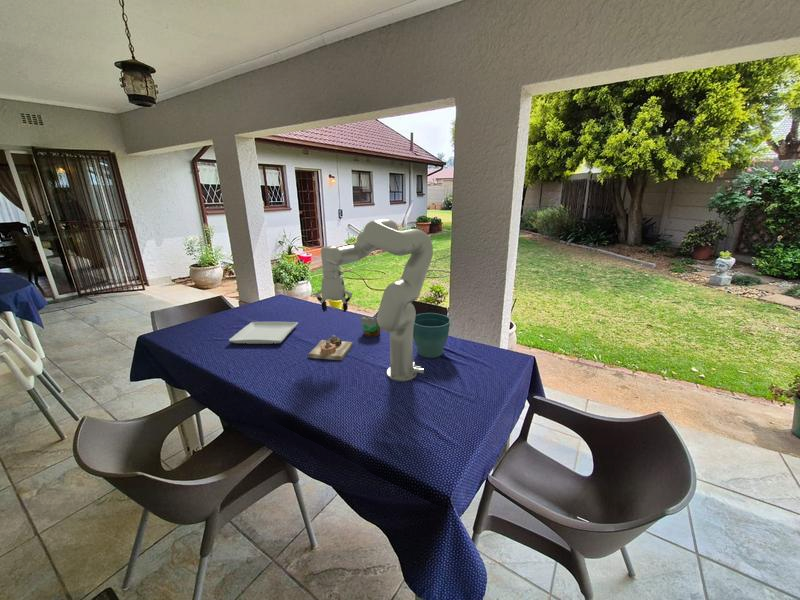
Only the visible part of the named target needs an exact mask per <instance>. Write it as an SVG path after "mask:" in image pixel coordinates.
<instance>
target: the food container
mask: <svg viewBox="0 0 800 600" xmlns="http://www.w3.org/2000/svg"><path fill="white" fill-rule="evenodd" d="M360 322H361V323H362V324H361V325H362V331H363V335H364V336H365V337H367V338H376V337H379V336H381V329H380V327H379V325H378V322H377V317H376V318H375V317H371V316H364V314H362V315H361V317H360Z"/></svg>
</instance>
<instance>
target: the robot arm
mask: <svg viewBox="0 0 800 600" xmlns="http://www.w3.org/2000/svg"><path fill="white" fill-rule="evenodd" d="M377 249H380V250H381V251H384V252H387V253H389V254H391V255H394V256H397V257H398V256H399V257H403V256H407V255H410V256H409V258H408V260H407V261H406V263H405V265H404V268H403V272H402V274H401V277H400V278H399V279H398V280H396V281H393V282H391V283H390V284H388V285H387V286H386V287H385V289H384V291H383V295H382V296H381V301H380V304H379V308H378V310H377V315H376V316H377V317H376V319H377V322H378V325H379V327H380V331H383V332H385V333H389V364H390V365H389V366H390V367H388V368H387V370H386V376H387V377H388V378H389V379H390V380H393V381H395V382H407V381H411V380H413V379H414V378H416V376H417V375H418V374H424V368H422V366H421V365H416V364H415V363H416V362H415V361H414V337H413V332H414V323H415V318H416V315H417V314H416V313H417V312H416V308H415V305H414V304H413V302H415V301H416V300H417V299H418V298H419V297H420V294H421V291H422V288H423V285H424V283H425V280H426V276H427V273H428V270H429V268H430V266H431V262H432V259H433V255H434V247H433V242H432V239H431V238H430V236H429V235H428V233H426V232H425V231H424V230H422V229H418V228H411V229H406V230H400V231H399V226H398V224H397V222H395V221H393V220H392V219H385V218H384V219H377V220H374V219H373V220H371V221H369V222H367V224H366V225H365V226H364V229H363V231H361V232H360V233H359V234H358V235H357V241H356V242H354V243H352V244H348V245H343V246H339V247H337V246H334V245H327V246H323V247H321V249H320V254H321V255H320V256H321V257H320V258H321V267H322V278H321V287H320V288H321V290H319V291H316V292H315V293H314V296H315V297H316V299H317V301H319V303H320V304H321V309H322V312H324V313H325V312H326V311H327V310H328V308H327V300H328V301H330V300H333V301H334V300H335V301H337V300H341V301H342V310H343V313H346V312H347V311H348V302H349V301H350V300H351V298H352V296H353V292H351V291H349V290H347V289H346V287H345V286H346V285H345V281H344V277H343V275H344V271H342V270H341V268H340V267H341V266H343V265H344V266H345V265H347V264H352V263H356V262H358V261H360V260H362V259H364V258H366V257H368V256H369V255H371V254H372V252H374V251H376V250H377ZM320 295H321V296H320ZM346 296H347V297H346Z"/></svg>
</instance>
